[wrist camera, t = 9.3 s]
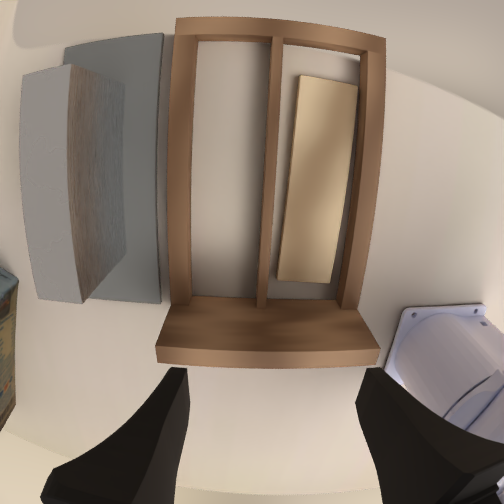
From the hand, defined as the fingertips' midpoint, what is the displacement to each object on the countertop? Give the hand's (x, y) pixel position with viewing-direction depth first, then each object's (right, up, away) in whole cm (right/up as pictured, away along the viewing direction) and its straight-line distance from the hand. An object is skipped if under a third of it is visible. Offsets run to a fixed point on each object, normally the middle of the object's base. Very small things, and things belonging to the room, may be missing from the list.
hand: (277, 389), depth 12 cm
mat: (-10, +11, +7) cm, 16 cm away
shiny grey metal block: (-10, +11, +6) cm, 16 cm away
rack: (+1, +10, +7) cm, 13 cm away
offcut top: (+3, +10, +8) cm, 13 cm away
